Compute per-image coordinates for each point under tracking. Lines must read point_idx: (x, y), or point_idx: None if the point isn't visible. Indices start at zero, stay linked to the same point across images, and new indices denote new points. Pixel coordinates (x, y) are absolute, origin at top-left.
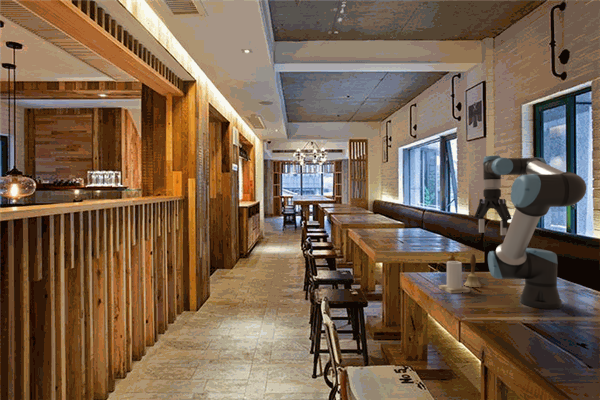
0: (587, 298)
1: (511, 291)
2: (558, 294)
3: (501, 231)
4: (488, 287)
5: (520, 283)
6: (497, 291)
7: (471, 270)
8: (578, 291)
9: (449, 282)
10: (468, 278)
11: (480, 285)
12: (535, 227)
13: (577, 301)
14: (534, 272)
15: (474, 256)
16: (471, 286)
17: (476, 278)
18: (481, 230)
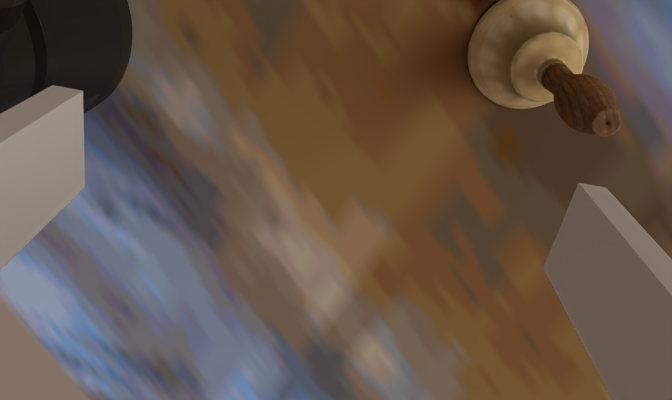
0: (38, 308)
1: (294, 133)
2: None
3: (24, 106)
4: (433, 102)
5: (382, 328)
6: (338, 60)
7: (563, 66)
8: (142, 387)
9: None
10: (556, 27)
11: (475, 72)
12: None
13: None
14: None
15: (583, 115)
16: (504, 1)
17: (506, 63)
18: (578, 231)
